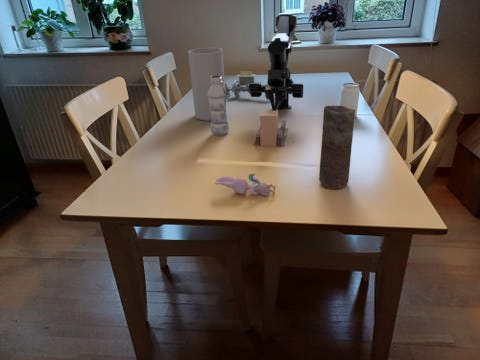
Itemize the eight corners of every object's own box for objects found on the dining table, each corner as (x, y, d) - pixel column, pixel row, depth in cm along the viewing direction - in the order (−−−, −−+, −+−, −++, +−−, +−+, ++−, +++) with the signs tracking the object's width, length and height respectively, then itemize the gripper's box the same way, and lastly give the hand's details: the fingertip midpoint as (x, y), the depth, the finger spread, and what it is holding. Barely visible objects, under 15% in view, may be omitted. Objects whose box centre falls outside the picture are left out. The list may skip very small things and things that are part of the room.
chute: (260, 129, 126) (260, 119, 124) (288, 130, 124) (288, 120, 122) (252, 147, 112) (252, 136, 110) (284, 149, 110) (284, 137, 108)
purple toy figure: (274, 192, 91) (217, 181, 92) (278, 172, 88) (219, 161, 89) (272, 205, 85) (212, 194, 86) (277, 184, 82) (214, 173, 83)
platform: (233, 81, 191) (232, 69, 188) (265, 81, 187) (265, 69, 184) (227, 87, 181) (226, 74, 178) (262, 87, 177) (261, 74, 174)
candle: (315, 176, 94) (320, 103, 84) (341, 174, 94) (350, 101, 85) (323, 191, 87) (330, 113, 78) (352, 189, 88) (362, 111, 78)
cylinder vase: (232, 114, 141) (229, 49, 129) (210, 123, 133) (204, 54, 121) (211, 109, 149) (206, 46, 136) (188, 117, 141) (181, 51, 129)
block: (262, 139, 116) (262, 110, 111) (277, 140, 115) (278, 110, 110) (260, 145, 111) (260, 115, 106) (276, 146, 110) (276, 116, 105)
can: (357, 119, 131) (361, 87, 125) (339, 118, 132) (342, 87, 126) (355, 113, 136) (359, 82, 130) (338, 113, 138) (341, 82, 132)
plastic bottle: (232, 132, 125) (229, 74, 115) (225, 139, 119) (221, 79, 109) (215, 130, 127) (210, 74, 117) (207, 137, 121) (202, 79, 111)
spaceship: (270, 84, 149) (274, 73, 154) (197, 89, 162) (203, 78, 167) (274, 99, 155) (277, 88, 159) (203, 102, 168) (208, 92, 172)
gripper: (248, 58, 119) (243, 100, 115) (304, 58, 115) (301, 101, 111) (253, 76, 129) (248, 115, 125) (304, 77, 126) (301, 117, 122)
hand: (274, 112), depth 121 cm, fingers closed
